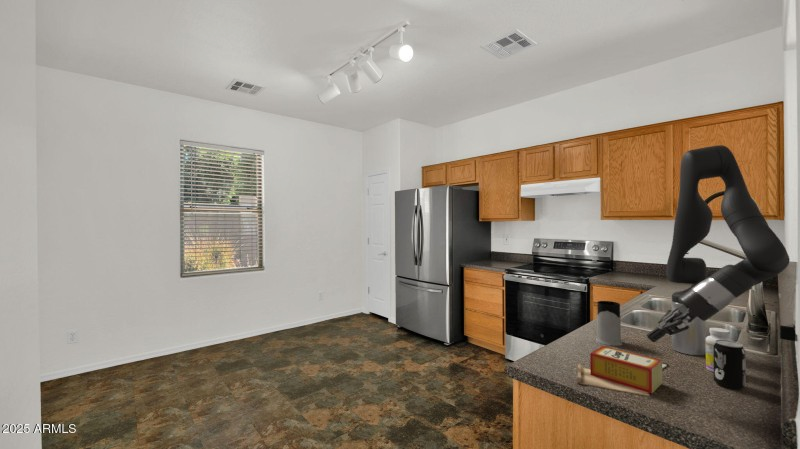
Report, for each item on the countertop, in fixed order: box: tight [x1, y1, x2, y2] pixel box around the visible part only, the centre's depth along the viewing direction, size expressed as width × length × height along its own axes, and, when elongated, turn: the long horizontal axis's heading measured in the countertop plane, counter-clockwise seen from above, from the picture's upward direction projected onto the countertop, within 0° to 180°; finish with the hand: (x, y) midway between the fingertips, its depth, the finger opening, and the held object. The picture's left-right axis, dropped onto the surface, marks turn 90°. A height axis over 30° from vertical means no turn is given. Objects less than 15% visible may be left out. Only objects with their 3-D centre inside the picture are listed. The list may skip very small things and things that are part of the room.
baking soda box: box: [589, 345, 663, 394], centre depth 104 cm, size 10×6×16 cm
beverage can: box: [713, 340, 747, 391], centre depth 99 cm, size 7×7×12 cm
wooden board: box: [577, 362, 650, 397], centre depth 103 cm, size 12×17×2 cm
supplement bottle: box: [705, 327, 734, 373], centre depth 108 cm, size 7×7×13 cm
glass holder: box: [595, 300, 623, 347], centre depth 138 cm, size 9×14×15 cm, turn 143°
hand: (649, 338), depth 97 cm, fingers closed
